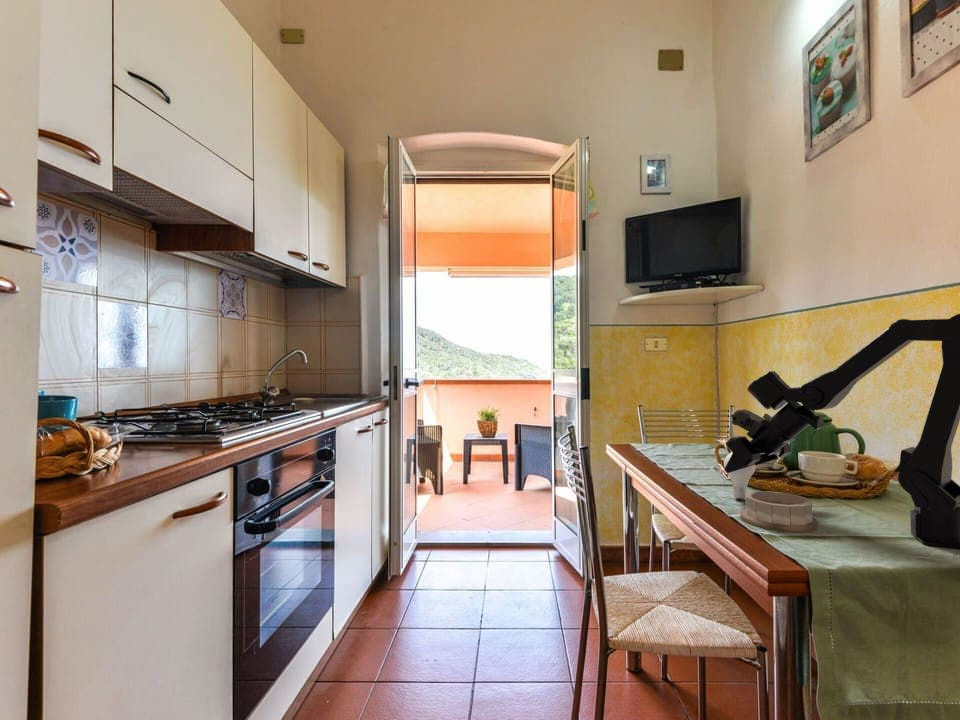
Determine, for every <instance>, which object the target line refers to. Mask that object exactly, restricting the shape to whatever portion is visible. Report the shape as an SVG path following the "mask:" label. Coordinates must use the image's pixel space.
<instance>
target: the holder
mask: <svg viewBox="0 0 960 720" xmlns="http://www.w3.org/2000/svg"><path fill="white" fill-rule="evenodd" d="M740 519H741V520H742V521H743V522H745V523H747V524H748V525H751V526H754V527H758V528H762V529H766V530H771V531H778V532H784V533H810V532H814V531H817V530H818V528H819V520H818V519H817V518H815V517H814V516H813V503H812V501H811V499H809V498H806V497H803V496H802V495H797V494H793V493H789V492H788V493H786V492H781V491H779V492H778V491H769V490H765V491H764V490H761V491H759V490H757V491H751V492H746V498H745V508H742V509H741V510H740Z"/></svg>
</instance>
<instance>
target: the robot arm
mask: <svg viewBox="0 0 960 720" xmlns="http://www.w3.org/2000/svg"><path fill="white" fill-rule="evenodd" d="M917 341H918V342H941V356H942V367H941V371H940V374H939V377H938V380H937V383H936V387H935V390H934V394H933V396H932V400H931V404H930V406H929V409H928V412H927V416H926V420H925V422H924V425H923V429H922V432H921V435H920V438H919V441H918V442H917V444H916V446H910V447H908V448H904V449H902V450H900V455H899V456H900V457H899V458H900V459H899V463H898V466H897V467H896V468H895V469H894V472H895V473H898V476H897V480H898V484H899V485H900V486H901V488H902V489H903V490H904V491H905V492H906V493H908V494H909V495H910V498H911V500H912V501H913V505H914V506H913V507H914V508H913V509H910V534H911V535H913V536H914V537H915V539H917V540H918V541H919V542H921V543H922V544H923V545H927V546H928V545H929V546H934V547H935V546H938V547H945V548H954V549H955V548H956V549H960V485H959V483H957V481H955V480H953V478H952V476H953V475H952V474H953V456H952V446H953V442H954V440H955V437H956V433H957V430H958V427H959V424H960V313H958V314H955V315H953V316H951V317H949V318H936V319H935V318H932V319H929V318H928V319H907V318H905V319H904V318H901V319H896V320H895V321H893V322H892V323H891V324H890V325H889V327H888V328H886V329H885V330H884V331H882V332H881V333H880V334H878V335H877V336H876V337H875V338H874V339H872V340H871V341H870V342H868V343H867V344H866V345H865V346H863V347H862V348H861V349H859V350H858V351H857V352H855V353H854V354H853V355H852V356H850V357H849V358H848V359H846V360H845V361H843V362H842V363H841V364H840V365H839V366H838V367H836V368H834V369H832V370H830V371H828V372H826V373H823V374H821V375H819V376H817V377H815V378H813V379H811V380H809V381H807V382H805V383H803V385H801V386H800V387H799V386H798V387H791V386H790V385H788V384H787V383H786V381H784V379H782V378H781V377H780V375H779V374H778V373H777V372H776V371H775V370H771V371H768V372H767V373H766V374H764V375H761V376H760V377H759V378H757V379H756V380H754V381H752V382H751V383H750V384H749V385H748V387H747V392H748V393H749V394H750V395H752V396H753V398H754V399H755V400H756V401H758V403H759V404H760V405H761V406H762V407H763V408H764V409H765V410H771V409H772V411H777V412H776V413H775V414H773V416H771V417H770V418H769V419H768V418H766V419H765V418H764V417H762V416H760V415H758V414H756V413H754V412H752V411H751V410H749V409H745V408H744V409H737V410H735V411H734V413H733V414H731V415H730V417H731V424H733V425H734V426H738V427H739V428H741V429H743V430H745V431H747V433H746V435H747V436H748V438H749V439H751V440H749V439H748V438H747V437H746V436H743V435H742V436H741V435H739V436H732V437H730V438H729V439H728V440H727V441H726V442H725V446H726V447H727V448H728V449H729V450H730V451H731V452H733V453H732V456H731V458H730V459H729V461H728V463H727V465H726V467H724V471H725V472H726V474H728V473H730V472H733V471H736V470H740V469H743V468H746V467H749V466H753V465H755V467H756V466H758V465H763V464H766V463H769V462H773V461H776V460H779V459H781V458H785V457H787V456H788V455H789V454H790V453H792V446H791V444H790V443H791V442H794V441H796V436H798V434H800V433H801V432H802V431H804V430H805V429H806V428H807V427H808V426H810V427H812V428H813V429H814V430H820V429H824V428H825V422H824V414H816V413H815V412H814V411H821V410H829V409H833V408H835V407H837V406H838V405H839V404H840V403H841V402H842V401H844V399H845V398H846V397H847V396H848V395H849V394H850V392H851V390H852V389H853V388H854V386H855V385H856V384H857V383H858V382H859V381H860V380H861V379H863V378H865V377H866V376H868V374H870V373H871V372H873V371H874V370H876V369H877V368H878V367H880V366H881V365H883V364H884V363H885V362H887V361H888V360H889V359H890V358H892V357H893V356H895V355H896V354H897V353H899V352H900V351H901V350H903V349H904V348H905V347H907V346H908V345H910V344H911V343H913V342H917ZM777 454H778V455H777Z"/></svg>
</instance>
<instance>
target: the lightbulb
mask: <svg viewBox="0 0 960 720" xmlns="http://www.w3.org/2000/svg"><path fill="white" fill-rule="evenodd" d="M732 453H733V452H732V451H731V452H730V453H728V454H727V455H726V457H724V461H723V467H724V468H725V467H726V465H727V463H728V461H729V459H730V458H731V456H732ZM755 471H756V466H755V465H753V466H749V467H746V468H743V469H740V470H736V471H733V472H730V473H727V475H728V476H729V478H730V481H731V485H732V489H733V497H734V498H736V499H737V500H739V501H742V500H744V499H746V493H747V487H748V485H749V480H750V479H751V477H752V476H753V475H754V473H755Z"/></svg>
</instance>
